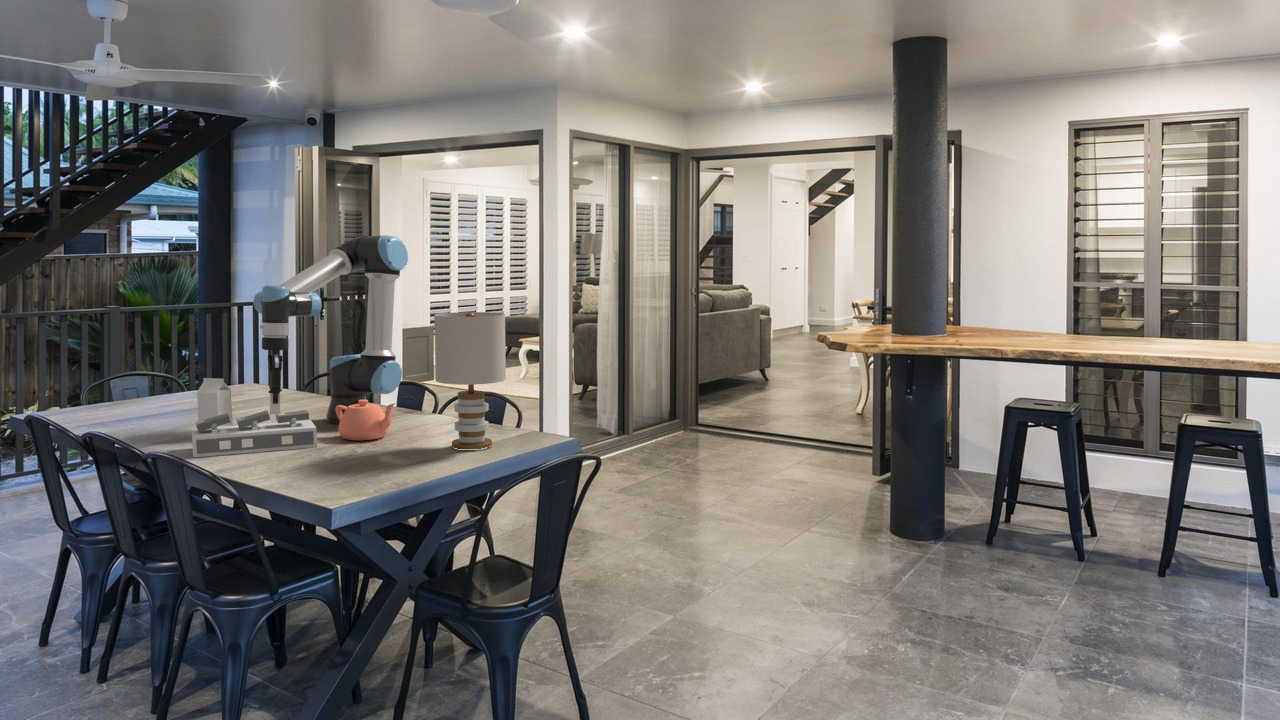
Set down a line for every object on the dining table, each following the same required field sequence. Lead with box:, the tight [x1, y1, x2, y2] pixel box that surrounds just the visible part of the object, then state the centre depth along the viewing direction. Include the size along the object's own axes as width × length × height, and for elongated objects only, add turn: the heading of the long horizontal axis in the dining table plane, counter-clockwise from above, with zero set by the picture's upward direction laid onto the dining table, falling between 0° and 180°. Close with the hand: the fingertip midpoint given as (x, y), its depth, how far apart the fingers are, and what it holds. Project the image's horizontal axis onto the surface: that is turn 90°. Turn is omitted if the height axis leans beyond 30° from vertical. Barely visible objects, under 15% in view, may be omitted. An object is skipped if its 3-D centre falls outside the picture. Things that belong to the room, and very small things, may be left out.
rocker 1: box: [195, 413, 230, 432], centre depth 275 cm, size 9×6×3 cm
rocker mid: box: [236, 409, 271, 429], centre depth 280 cm, size 9×6×3 cm
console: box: [191, 419, 318, 458], centre depth 280 cm, size 34×15×7 cm, turn 116°
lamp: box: [433, 311, 507, 449], centre depth 281 cm, size 21×21×41 cm
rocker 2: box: [275, 409, 310, 423], centre depth 285 cm, size 9×6×3 cm
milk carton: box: [196, 377, 234, 427], centre depth 295 cm, size 7×7×19 cm
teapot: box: [335, 399, 397, 441], centre depth 295 cm, size 22×15×12 cm
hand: (275, 413), depth 282 cm, fingers closed
